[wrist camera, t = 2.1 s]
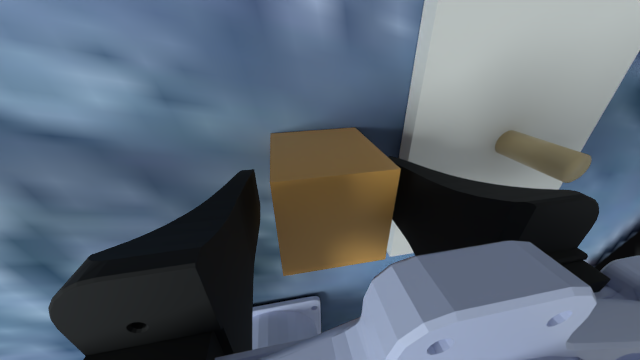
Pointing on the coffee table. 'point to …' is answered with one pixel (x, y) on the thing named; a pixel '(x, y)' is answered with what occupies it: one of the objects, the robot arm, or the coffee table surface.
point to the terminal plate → (513, 88)
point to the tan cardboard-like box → (330, 198)
